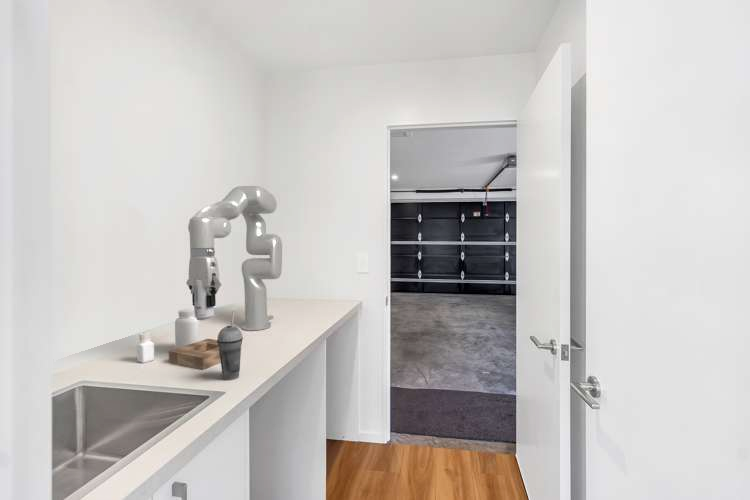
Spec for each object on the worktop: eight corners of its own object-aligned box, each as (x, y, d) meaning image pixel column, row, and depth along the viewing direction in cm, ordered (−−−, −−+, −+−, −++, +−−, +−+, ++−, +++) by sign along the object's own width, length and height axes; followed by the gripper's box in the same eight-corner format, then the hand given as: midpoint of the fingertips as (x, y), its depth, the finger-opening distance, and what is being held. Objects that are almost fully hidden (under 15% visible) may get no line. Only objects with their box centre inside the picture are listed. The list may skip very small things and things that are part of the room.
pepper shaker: (155, 360, 130) (154, 332, 130) (143, 363, 127) (142, 335, 126) (148, 358, 132) (147, 331, 132) (136, 361, 129) (135, 334, 128)
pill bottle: (190, 354, 136) (188, 312, 136) (170, 353, 138) (169, 312, 137) (204, 347, 144) (203, 308, 143) (185, 346, 146) (184, 307, 145)
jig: (208, 349, 142) (208, 338, 142) (240, 354, 135) (240, 343, 135) (169, 362, 128) (168, 351, 127) (203, 369, 121) (202, 357, 121)
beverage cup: (217, 375, 116) (215, 310, 115) (243, 371, 119) (241, 308, 118) (218, 383, 110) (216, 315, 109) (244, 379, 112) (243, 312, 111)
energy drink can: (192, 318, 131) (190, 275, 130) (209, 315, 135) (208, 273, 134) (198, 321, 126) (197, 276, 126) (216, 318, 131) (215, 275, 130)
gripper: (229, 253, 129) (231, 305, 130) (194, 252, 137) (195, 302, 138) (211, 254, 123) (213, 309, 123) (175, 253, 130) (177, 305, 131)
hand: (204, 305), depth 130 cm, fingers closed on energy drink can, 6 cm apart
